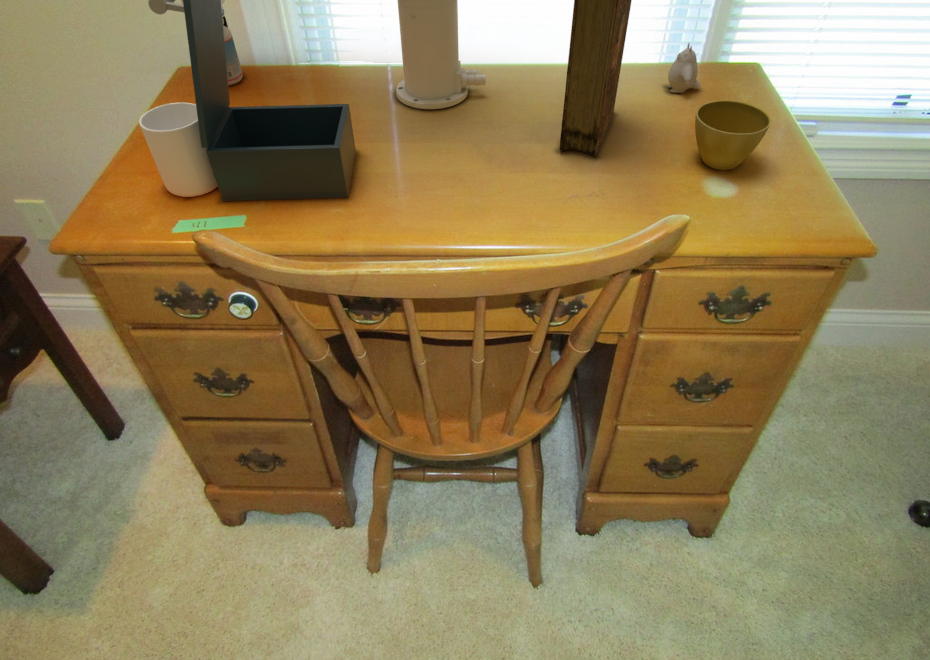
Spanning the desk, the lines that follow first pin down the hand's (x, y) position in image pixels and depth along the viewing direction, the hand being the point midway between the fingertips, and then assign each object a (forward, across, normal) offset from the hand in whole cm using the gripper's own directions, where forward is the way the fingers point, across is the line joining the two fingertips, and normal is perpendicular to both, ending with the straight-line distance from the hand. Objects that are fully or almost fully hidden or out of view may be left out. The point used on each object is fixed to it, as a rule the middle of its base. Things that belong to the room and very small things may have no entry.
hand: (217, 46), depth 112 cm
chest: (+6, -34, -18) cm, 38 cm away
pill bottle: (+6, 0, 0) cm, 6 cm away
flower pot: (+6, -33, -81) cm, 88 cm away
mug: (+6, -33, -4) cm, 34 cm away
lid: (-11, -33, -11) cm, 37 cm away
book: (+6, -23, -63) cm, 67 cm away
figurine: (+6, -9, -82) cm, 83 cm away
